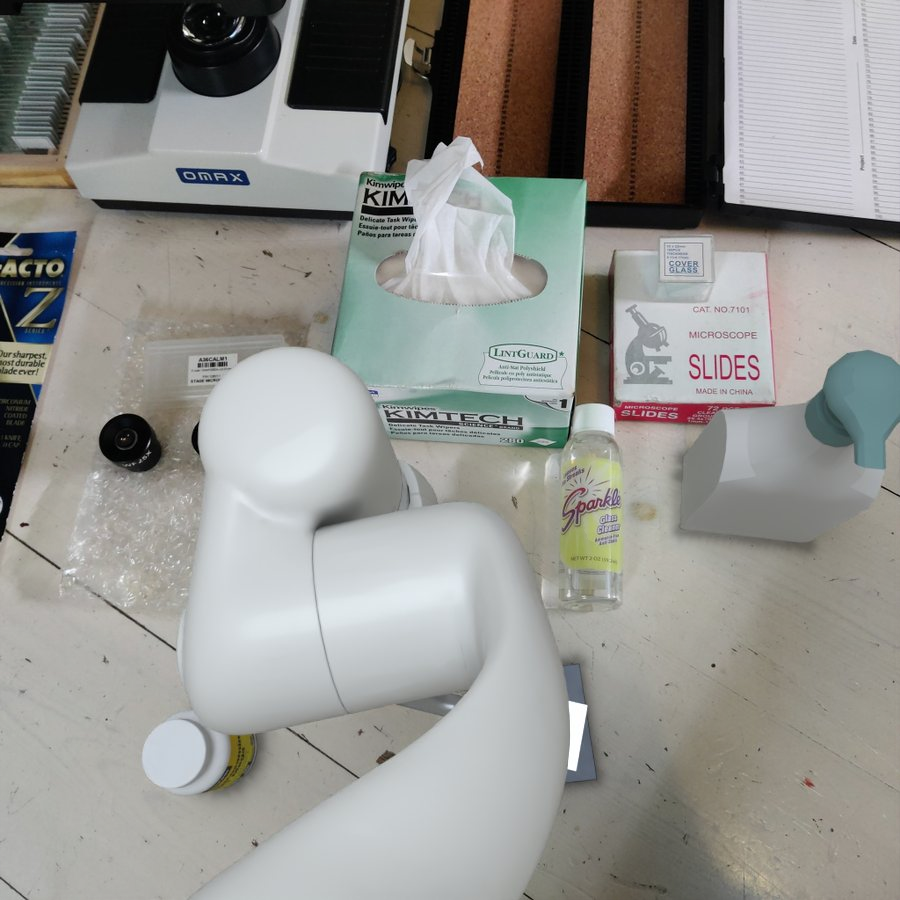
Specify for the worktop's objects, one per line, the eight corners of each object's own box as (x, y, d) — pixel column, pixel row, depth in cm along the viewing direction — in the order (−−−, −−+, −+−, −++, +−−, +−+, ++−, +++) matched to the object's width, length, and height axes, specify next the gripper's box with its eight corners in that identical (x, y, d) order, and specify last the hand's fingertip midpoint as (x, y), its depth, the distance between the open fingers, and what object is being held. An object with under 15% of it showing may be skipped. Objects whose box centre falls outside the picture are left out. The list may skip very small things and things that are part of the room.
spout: (578, 706, 51) (588, 704, 45) (567, 766, 50) (576, 772, 44) (384, 659, 52) (371, 652, 47) (370, 716, 51) (355, 716, 46)
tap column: (595, 778, 66) (632, 800, 48) (485, 790, 66) (480, 817, 48) (577, 664, 69) (606, 645, 51) (472, 676, 69) (463, 661, 51)
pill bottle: (241, 799, 67) (193, 814, 56) (174, 773, 68) (115, 783, 57) (270, 724, 68) (229, 725, 58) (204, 699, 69) (152, 696, 59)
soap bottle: (677, 548, 71) (781, 451, 45) (681, 459, 74) (782, 319, 48) (806, 563, 70) (988, 473, 44) (805, 473, 73) (978, 336, 47)
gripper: (200, 581, 43) (285, 617, 60) (483, 548, 42) (486, 594, 60) (198, 446, 45) (281, 518, 62) (466, 414, 45) (474, 496, 62)
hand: (381, 555), depth 61 cm, fingers closed
